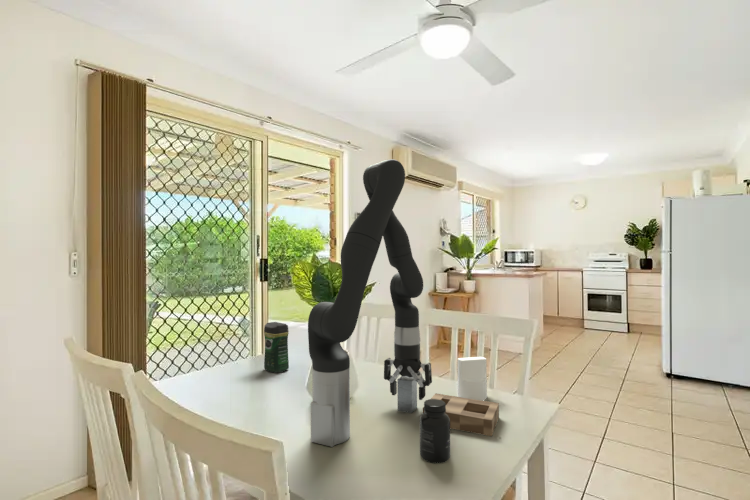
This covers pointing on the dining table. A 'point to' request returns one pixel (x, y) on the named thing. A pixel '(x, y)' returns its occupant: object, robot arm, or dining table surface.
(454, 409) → the socket board
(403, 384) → the steel square peg
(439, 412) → the supplement bottle
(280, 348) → the coffee jar
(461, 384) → the white upright block
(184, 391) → the dining table surface
